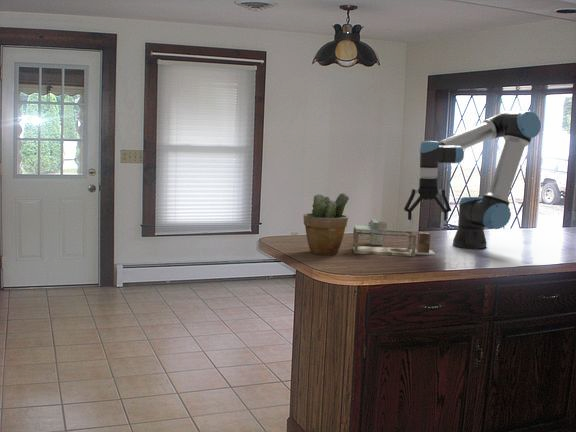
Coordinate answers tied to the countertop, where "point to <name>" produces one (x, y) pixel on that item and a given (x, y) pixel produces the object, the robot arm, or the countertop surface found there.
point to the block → (423, 242)
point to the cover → (368, 227)
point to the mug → (376, 238)
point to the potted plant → (326, 224)
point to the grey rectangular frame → (385, 250)
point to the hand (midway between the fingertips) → (426, 227)
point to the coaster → (424, 252)
